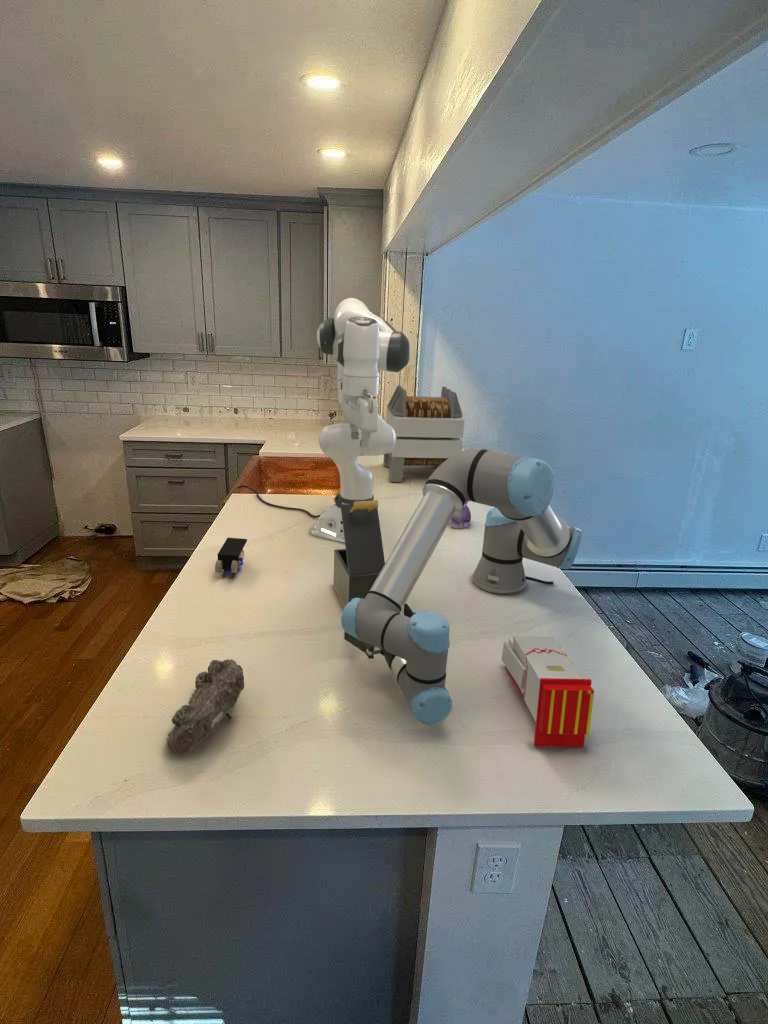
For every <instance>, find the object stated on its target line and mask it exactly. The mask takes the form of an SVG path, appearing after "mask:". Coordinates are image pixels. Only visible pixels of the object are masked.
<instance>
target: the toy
mask: <svg viewBox="0 0 768 1024" xmlns="http://www.w3.org/2000/svg"><path fill="white" fill-rule="evenodd" d="M501 662H502V663H503V664H504V667H505V670H506V671H507V673H508V675H509V676H510V679H511V680H512V681H513V683H514V685H515V686H516V688H517V690H518V691H519V693H520V696H521V697H522V698H523V699H524V703H525V704H526V706H527V708H528V710H529V713H530V714H531V716H532V718H533V720H534V722H535V729H534V740H533V746H534V747H538V748H539V747H540V748H541V747H544V748H545V747H546V748H547V747H548V748H584V746H585V739H586V735H590V730H591V721H592V720H591V719H592V714H593V713H592V711H593V704H594V694H595V690H594V689H593V687H592V679H591V678H585V676H584V675H583V674H582V673H581V672H580V670H579V669H578V668H577V666H576V665H575V663H574V662H573V661H572V660H571V658H570V657H569V656H568V654H567V653H566V652H565V650H564V649H563V648H562V646H561V645H560V643H559V641H557V640H556V639H555V637H554V636H538V635H537V636H535V635H533V636H532V635H529V636H528V635H524V636H523V635H513V637H508V642H507V641H504V642H503V647H502V654H501Z"/></svg>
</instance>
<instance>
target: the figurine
mask: <svg viewBox="0 0 768 1024" xmlns="http://www.w3.org/2000/svg"><path fill="white" fill-rule="evenodd" d="M471 519H472V513H471V510H470V508H469V507H468V502H466V503H465V504H464V506H463V508H462V510H461V511H459V512H456V513H454V514H453V516H452V518H451V520H450V522H449V524H448V525H449V526H450V527H451V528H454V529H462V528H467V527H469V526H470V523H471Z"/></svg>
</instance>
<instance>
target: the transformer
mask: <svg viewBox="0 0 768 1024" xmlns="http://www.w3.org/2000/svg"><path fill="white" fill-rule="evenodd" d="M440 393H441V394H440V396H415V395H414V396H413V395H412V396H411V395H407V394H408V393H407V390H406V389H404V388H403V387H402V385H399V384H398V385H397V386H396V388H395V390H394V392H393V394H392V395H391V398H390V400H389V402H388V404H387V405H386V413H385V414H386V415H385V422H386V423H387V424H389V425H390V426H391V427H392V428H393V429H394V431H395V434H396V444H395V447H394V449H393V450H392V451H391V452H390V453H387V454H383V466H384V467H388V468H389V475H388V476H389V477H388V478H389V480H390V482H391V483H402V482H403V475H404V469H405V466H406V467H407V466H411V467H412V466H413V467H415V466H416V467H417V466H418V467H436V469H437V468H438V467H439V466H440V465H441V464H442V463H443V462H445V461H446V460H447V459H449V458H450V457H452V456H453V455H455V454H457V453H459V452H461V451H463V442H464V441H463V440H462V439H463V438H464V431H465V430H464V429H465V419H464V418H463V411H462V408H461V405H460V402H459V398H458V395H457V392H455V391H453V390H452V389H451V388H447V386H442V387H441V392H440Z"/></svg>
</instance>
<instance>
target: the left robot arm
mask: <svg viewBox="0 0 768 1024" xmlns="http://www.w3.org/2000/svg"><path fill="white" fill-rule="evenodd" d="M316 343H317V345H318V347H319V349H320V351H321V352H322V353H323V354H325V355H330V356H333V355H337V358H336V361H337V366H336V380H337V382H336V383H337V396H338V404H339V406H340V408H341V409H342V413H343V417H344V419H346V420H347V421H348V422H338V423H332V424H329V425H325V426H324V427H322V429H321V431H320V432H319V435H318V436H319V437H318V444H319V447H320V449H321V451H322V452H323V454H325V455H326V456H327V457H328V458H330V459H331V460H332V462H333V463H334V464H335V466H336V467H337V470H338V473H339V483H340V484H339V485H340V488H339V489H340V490H339V491H338V492H337V494H336V495H335V496H334V497H333V502H334V504H333V505H331V506H329V507H328V508H326V509H325V510H323V512H321V513H320V514H318V515H313V514H311V513H310V511H308V510H306V509H304V508H300V507H299V508H298V507H289V506H283V505H278V504H274V503H270V502H268V501H265V500H264V499H263V498H261V497H260V495H259V492H258V491H257V490H256V489H255V488H253V487H250V486H247V485H245V484H244V485H239V486H238V487H237V489H238V490H239V489H241V488H246V489H249V490H250V491H252V492H254V493H255V494H256V497H257V499H258V500H259V501H260V502H262V503H264V504H265V505H268V506H271V507H274V508H278V509H279V508H280V509H285V510H293V511H301V512H304V513H306V514H307V515H308V516H309V517H311V518H314V519H315V518H317V519H318V521H317V523H315V524H314V525H313V526H312V528H311V530H310V533H311V536H315V537H319V538H323V539H326V540H330V541H336V542H339V543H343V544H345V538H344V530H343V522H342V513H341V505H348V504H354V502H356V501H373V500H375V496H374V474H373V472H372V471H371V469H369V468H368V467H366V466H364V465H362V464H359V463H358V460H357V458H358V457H378V456H382V455H383V456H384V454H387V453H390V452H391V451H392V450H393V449H394V447H395V444H396V434H395V431H394V429H393V428H392V427H391V426H390V425H389V424H387V423H386V420H384V419H383V418H382V417H381V415H380V414H379V408H378V402H377V400H376V399H374V397H377V396H379V391H380V371H381V372H384V371H385V372H390V373H399V372H401V371H402V370H404V368H406V367H407V366H408V364H409V363H410V358H411V345H410V340H409V338H408V337H407V336H406V334H404V333H403V332H402V331H400V330H399V331H398V330H397V329H396V328H395V327H394V326H393V325H391V323H390V322H388V321H387V320H385V319H383V318H381V317H379V316H378V315H377V314H374V313H373V312H371V311H370V310H369V308H368V306H367V305H366V304H365V303H364V302H363V301H362V300H360V299H359V298H355V297H347V298H345V299H343V300H341V301H340V302H339V304H338V305H337V307H336V308H335V311H334V316H333V317H332V318H331V316H328V317H327V319H326V320H324V321H322V322H321V323H320V324H319V325H318V329H317V332H316Z"/></svg>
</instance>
